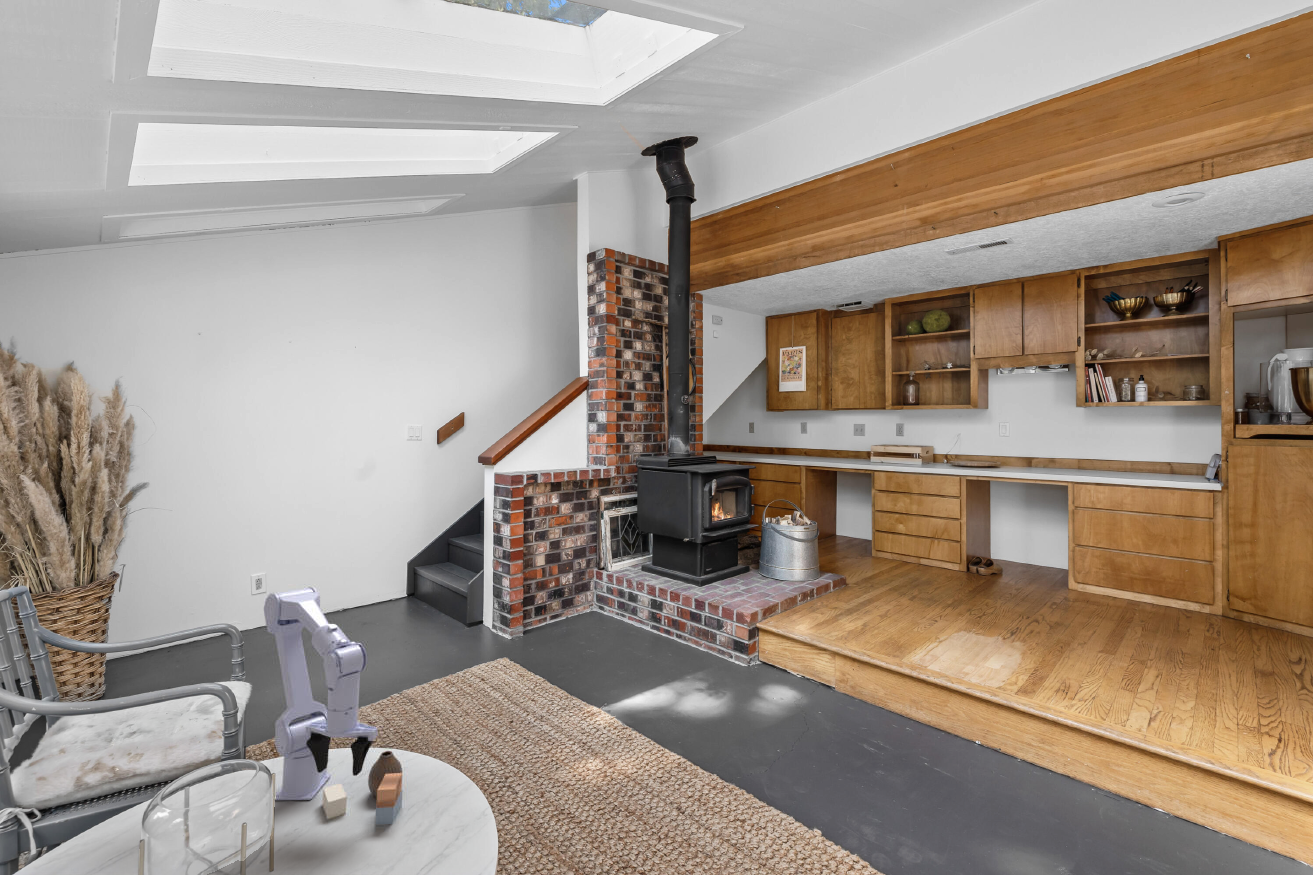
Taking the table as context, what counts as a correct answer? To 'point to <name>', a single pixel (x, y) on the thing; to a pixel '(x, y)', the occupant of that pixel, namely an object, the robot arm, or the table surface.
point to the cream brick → (334, 801)
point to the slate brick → (388, 813)
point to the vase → (382, 770)
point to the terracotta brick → (389, 790)
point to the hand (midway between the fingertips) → (339, 771)
